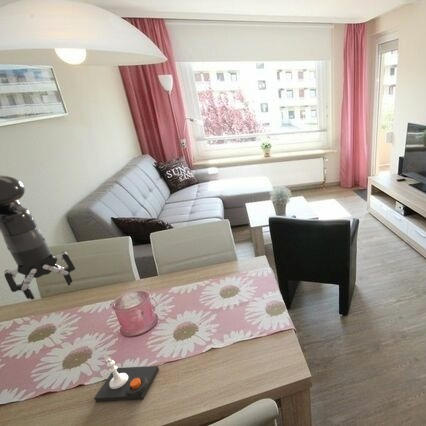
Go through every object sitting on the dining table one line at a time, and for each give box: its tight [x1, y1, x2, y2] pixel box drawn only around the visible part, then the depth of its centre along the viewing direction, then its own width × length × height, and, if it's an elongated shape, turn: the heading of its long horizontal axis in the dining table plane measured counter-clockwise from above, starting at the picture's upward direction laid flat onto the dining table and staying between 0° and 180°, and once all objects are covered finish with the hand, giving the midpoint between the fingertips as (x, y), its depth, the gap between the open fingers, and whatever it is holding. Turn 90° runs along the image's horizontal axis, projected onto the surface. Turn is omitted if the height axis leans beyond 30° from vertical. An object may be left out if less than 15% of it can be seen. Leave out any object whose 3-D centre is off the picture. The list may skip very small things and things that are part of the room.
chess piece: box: [105, 357, 128, 389], centre depth 89 cm, size 5×5×10 cm
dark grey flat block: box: [94, 365, 160, 403], centre depth 91 cm, size 10×14×4 cm
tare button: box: [130, 378, 141, 389], centre depth 88 cm, size 3×3×2 cm
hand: (51, 290), depth 88 cm, fingers open, 8 cm apart
